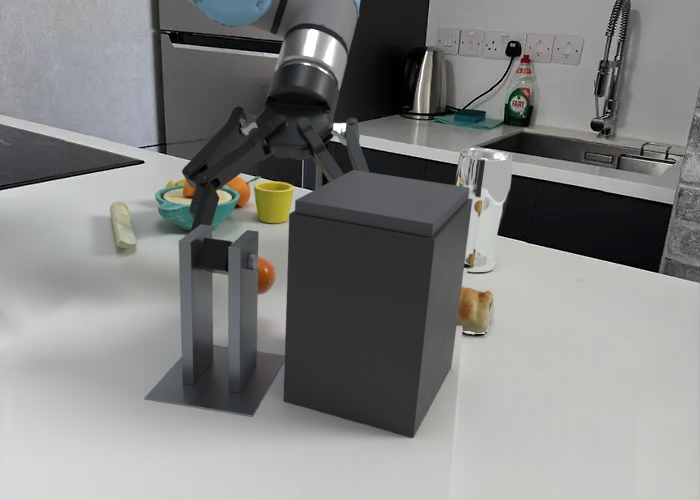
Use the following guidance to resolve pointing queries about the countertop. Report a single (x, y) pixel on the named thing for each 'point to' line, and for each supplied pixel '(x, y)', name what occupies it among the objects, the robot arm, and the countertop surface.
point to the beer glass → (484, 200)
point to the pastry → (475, 310)
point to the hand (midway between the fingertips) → (260, 256)
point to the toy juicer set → (178, 197)
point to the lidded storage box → (374, 297)
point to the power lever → (217, 262)
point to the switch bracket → (197, 335)
